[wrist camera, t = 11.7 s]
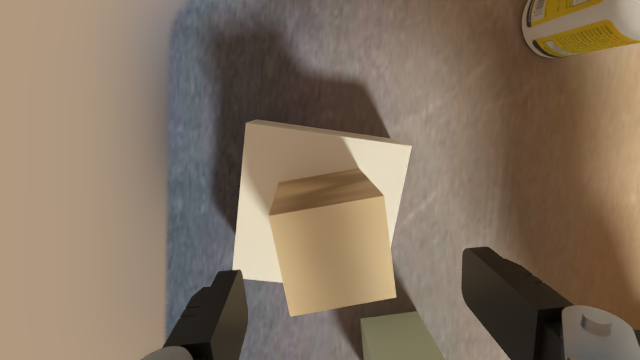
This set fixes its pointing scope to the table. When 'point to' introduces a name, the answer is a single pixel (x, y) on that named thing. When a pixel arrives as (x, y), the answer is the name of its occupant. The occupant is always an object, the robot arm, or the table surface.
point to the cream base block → (300, 162)
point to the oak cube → (332, 242)
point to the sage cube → (398, 338)
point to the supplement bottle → (579, 25)
